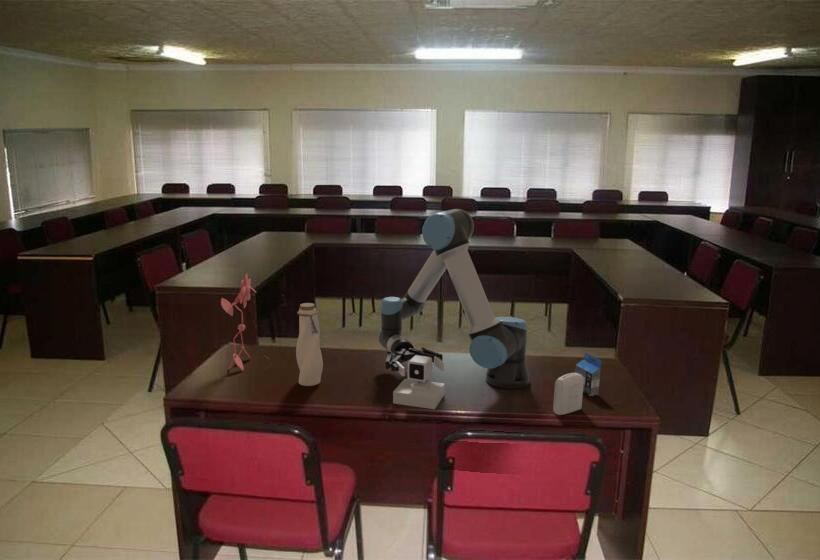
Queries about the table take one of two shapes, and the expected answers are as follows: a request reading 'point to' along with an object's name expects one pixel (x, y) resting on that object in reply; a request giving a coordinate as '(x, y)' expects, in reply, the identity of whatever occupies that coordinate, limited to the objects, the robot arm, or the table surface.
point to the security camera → (420, 372)
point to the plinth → (418, 395)
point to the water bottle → (309, 346)
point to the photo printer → (568, 393)
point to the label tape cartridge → (589, 374)
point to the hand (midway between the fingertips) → (423, 369)
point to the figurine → (228, 308)
